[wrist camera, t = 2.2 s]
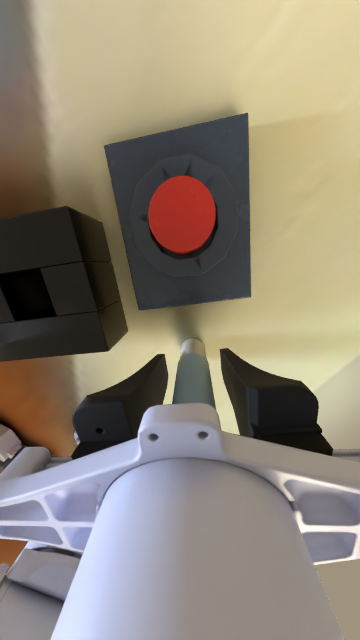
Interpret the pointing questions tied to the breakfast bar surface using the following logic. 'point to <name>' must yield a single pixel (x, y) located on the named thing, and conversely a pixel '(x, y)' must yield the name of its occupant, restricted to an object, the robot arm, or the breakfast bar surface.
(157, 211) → the power button
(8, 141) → the breakfast bar surface
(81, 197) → the breakfast bar surface
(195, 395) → the light blue tube
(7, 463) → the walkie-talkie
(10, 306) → the holder
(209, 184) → the grey button base
